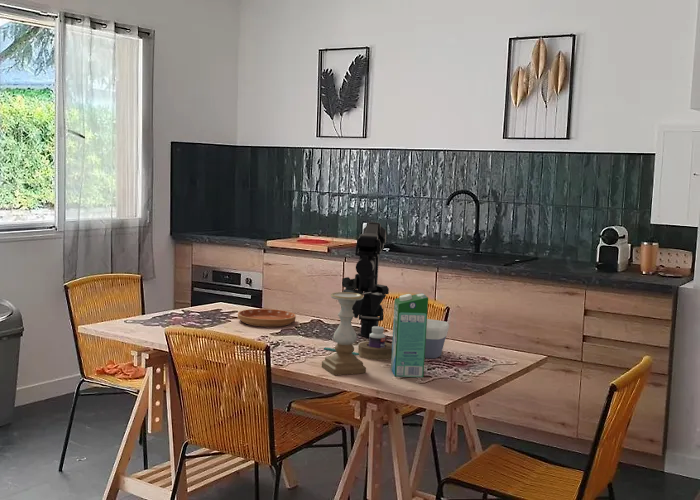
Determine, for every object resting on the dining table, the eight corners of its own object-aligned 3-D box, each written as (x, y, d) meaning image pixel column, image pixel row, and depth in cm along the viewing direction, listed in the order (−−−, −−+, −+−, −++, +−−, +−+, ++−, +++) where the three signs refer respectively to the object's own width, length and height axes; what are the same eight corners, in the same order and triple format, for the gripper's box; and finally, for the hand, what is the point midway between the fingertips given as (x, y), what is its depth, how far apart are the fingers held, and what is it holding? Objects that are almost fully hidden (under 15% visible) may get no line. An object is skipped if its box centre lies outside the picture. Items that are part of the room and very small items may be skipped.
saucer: (264, 314, 337) (264, 306, 337) (307, 323, 324) (307, 314, 323) (225, 322, 319) (225, 312, 318) (269, 331, 305) (269, 321, 305)
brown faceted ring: (374, 349, 283) (374, 339, 282) (401, 356, 275) (401, 346, 274) (351, 354, 274) (351, 344, 273) (378, 361, 266) (379, 351, 265)
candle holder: (333, 375, 246) (337, 298, 243) (320, 366, 256) (324, 292, 253) (366, 373, 250) (370, 297, 248) (352, 364, 260) (356, 291, 258)
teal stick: (361, 355, 274) (361, 353, 274) (360, 355, 273) (360, 353, 273) (325, 349, 280) (325, 347, 280) (324, 349, 279) (324, 347, 279)
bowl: (450, 352, 284) (452, 321, 283) (441, 362, 270) (443, 329, 268) (408, 347, 289) (410, 316, 288) (396, 356, 275) (398, 324, 273)
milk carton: (390, 369, 257) (394, 291, 254) (418, 369, 258) (423, 292, 255) (394, 376, 248) (399, 296, 245) (423, 377, 249) (428, 297, 246)
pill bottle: (382, 358, 271) (384, 329, 270) (367, 356, 272) (368, 328, 271) (385, 354, 276) (386, 326, 275) (369, 353, 277) (371, 325, 276)
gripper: (366, 266, 290) (364, 309, 292) (331, 270, 276) (329, 315, 278) (390, 270, 283) (388, 314, 285) (355, 275, 269) (353, 321, 271)
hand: (364, 316), depth 280 cm, fingers open, 9 cm apart
